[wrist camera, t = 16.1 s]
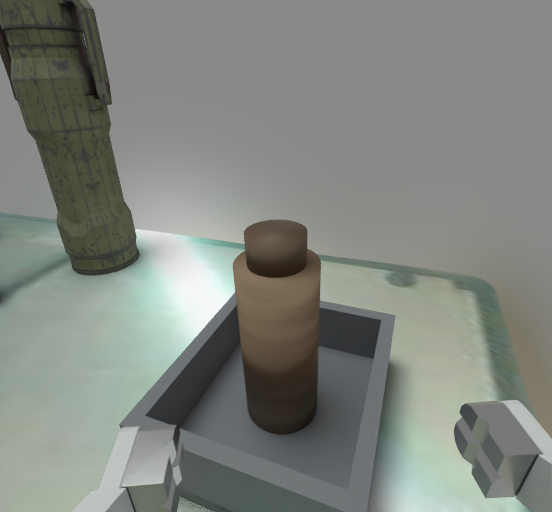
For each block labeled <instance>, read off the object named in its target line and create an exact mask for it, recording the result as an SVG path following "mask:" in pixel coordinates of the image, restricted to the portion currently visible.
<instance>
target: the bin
mask: <svg viewBox="0 0 552 512" xmlns="http://www.w3.org/2000/svg"><path fill="white" fill-rule="evenodd" d="M394 321H395V315H391V314H386V313H381V312H376V311H370V310H365V309H360V308H355V307H350V306H345V305H340V304H335V303H329V302H324V301H320V312H319V350H318V387H317V410H316V414H315V416H314V418H313V419H312V421H311V422H310V423H309V424H308V425H307V426H306V427H305V428H303V429H301V430H299V431H297V432H294V433H291V434H284V435H283V434H273V433H269V432H266V431H264V430H262V429H261V428H259V427H258V426H257V425H256V424H255V423H254V422H253V421H252V420H251V418H250V416H249V413H248V408H247V398H246V388H245V379H244V369H243V359H242V350H241V340H240V330H239V321H238V311H237V301H236V292H235V293H234V295H233V296H232V297H231V298H230V299H229V300H228V301H227V303H226V304H225V305H224V306H223V307H222V308H221V309H220V310H219V312H218V313H217V314H216V315H215V316H214V317H213V318H212V320H211V321H210V322H209V323H208V324H207V325H206V326H205V328H204V329H203V330H202V331H201V332H200V333H199V334H198V336H197V337H196V338H195V339H194V340H193V341H192V342H191V343H190V345H189V346H188V347H187V348H186V349H185V350H184V351H183V353H182V354H181V355H180V356H179V357H178V358H177V359H176V361H175V362H174V363H173V364H172V365H171V366H170V367H169V369H168V370H167V371H166V372H165V373H164V374H163V375H162V376H161V378H160V379H159V380H158V381H157V382H156V383H155V384H154V386H153V387H152V388H151V389H150V390H149V391H148V392H147V394H146V395H145V396H144V397H143V398H142V399H141V400H140V402H139V403H138V404H137V405H136V406H135V407H134V408H133V409H132V411H131V412H130V413H129V414H128V415H127V416H126V417H125V419H124V420H123V421H122V422H121V423H120V424H119V425H120V428H122V427H136V426H157V425H179V428H180V438H179V440H180V441H181V442H182V443H183V447H184V470H183V477H182V480H181V482H180V483H179V484H178V485H177V490H178V494H179V496H181V497H184V498H186V499H188V500H191V501H193V502H195V503H197V504H200V505H202V506H204V507H206V508H209V509H211V510H213V511H215V512H367V508H368V501H369V494H370V487H371V480H372V473H373V467H374V460H375V453H376V446H377V439H378V432H379V425H380V418H381V411H382V404H383V397H384V390H385V384H386V377H387V370H388V363H389V356H390V349H391V342H392V335H393V328H394Z"/></svg>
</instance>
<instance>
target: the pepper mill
mask: <svg viewBox="0 0 552 512" xmlns="http://www.w3.org/2000/svg"><path fill="white" fill-rule="evenodd" d="M244 241H245V251H244V252H243V253H241V254H240V255H239V256H237V258H236V259H235V260H234V263H233V272H234V282H235V292H236V301H237V311H238V321H239V330H240V340H241V350H242V359H243V369H244V379H245V388H246V398H247V408H248V413H249V416H250V418H251V420H252V421H253V422H254V423H255V424H256V425H257V426H258V427H259V428H261V429H262V430H264V431H266V432H269V433H273V434H283V435H284V434H291V433H294V432H297V431H299V430H301V429H303V428H305V427H306V426H307V425H308V424H309V423H310V422H311V421H312V419H313V418H314V416H315V414H316V410H317V387H318V350H319V312H320V274H321V261H320V258H319V257H318V255H316V254H315V253H314V252H313V251H311V250H309V249H307V229H306V227H305V226H303V225H302V224H300V223H297V222H294V221H289V220H268V221H263V222H258V223H255V224H253V225H251V226H249V227H248V228H246V230H245V231H244Z"/></svg>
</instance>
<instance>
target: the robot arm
mask: <svg viewBox="0 0 552 512" xmlns="http://www.w3.org/2000/svg"><path fill="white" fill-rule="evenodd" d="M460 414H461V416H462V418H461V419H460V420H459V421H458V422H456V425H455V428H454V436H455V442H456V445H457V447H458V450H459V451H460V453H461V455H462V457H463V458H464V459H465V460H467V461H468V462H469V463H471V464H472V475H473V477H474V479H475V480H476V482H477V484H478V486H479V487H480V489H481V491H482V493H483V494H484V496H485V498H497V497H515V496H517V498H516V499H518V500H519V501H520V502H521V503H522V504H523V505H524V506H525V507H527V508H528V509H529V510H530V511H531V512H552V439H551V438H550V436H549V435H548V434H547V433H546V432H545V430H544V429H543V428H542V427H541V426H540V424H539V423H538V422H537V421H536V420H535V418H534V417H533V416H532V415H531V414H530V412H529V411H528V410H527V409H526V408H525V406H524V405H523V404H522V403H521V402H519V401H517V400H507V401H489V402H478V403H466V404H464V405H463V406H462V407H461V409H460ZM179 438H180V428H179V425H157V426H136V427H122V428H121V429H120V431H119V432H118V434H117V437H116V439H115V442H114V445H113V448H112V450H111V453H110V456H109V459H108V461H107V464H106V467H105V470H104V473H103V475H102V478H101V481H100V484H99V486H98V489H97V490H91V491H90V492H89V493H88V494H87V495H86V496H85V498H84V499H83V500H82V501H81V502H80V503H79V504H78V505H77V506H76V507H75V508H74V509H73V510H72V511H71V512H177V508H178V502H179V494H178V490H177V485H178V484H179V483H180V482H181V480H182V477H183V470H184V447H183V443H182V442H181V441H180V440H179Z"/></svg>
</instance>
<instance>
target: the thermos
mask: <svg viewBox="0 0 552 512" xmlns="http://www.w3.org/2000/svg"><path fill="white" fill-rule="evenodd" d="M83 33H84V36H83ZM84 37H85V40H84ZM85 41H86V45H85ZM86 46H87V48H86ZM0 54H1V57H2V60H3V63H4V66H5V68H6V71H7V74H8V77H9V80H10V83H11V87H12V90H13V94H14V97H15V100H17V101H18V104H19V107H20V110H21V113H22V116H23V119H24V122H25V125H26V128H27V131H28V132H29V133H30V134H31V136H32V137H33V138H34V139H35V140H36V144H37V147H38V150H39V153H40V156H41V159H42V163H43V165H44V169H45V172H46V175H47V178H48V181H49V184H50V188H51V191H52V194H53V197H54V200H55V203H56V206H57V210H58V214H57V226H58V229H59V232H60V235H61V238H62V241H63V244H64V247H65V250H66V253H68V255H69V256H70V259H71V263H72V268H73V270H74V271H76V272H77V273H80V274H84V275H99V274H106V273H111V272H115V271H118V270H120V269H123V268H125V267H127V266H129V265H131V264H132V263H134V262H135V261H136V260H137V259H138V256H139V252H138V249H137V246H136V233H135V228H134V224H133V220H132V215H131V211H130V209H129V208H128V206H127V205H126V203H125V202H124V199H123V194H122V190H121V185H120V181H119V176H118V172H117V167H116V163H115V159H114V154H113V150H112V145H111V141H110V137H109V131H110V126H111V123H110V118H109V113H108V109H107V105H109V104H112V101H111V94H110V85H109V79H108V74H107V70H106V65H105V60H104V55H103V51H102V46H101V42H100V36H99V32H98V27H97V22H96V17H95V13H94V9H93V8H92V7H91V5H90V4H89V3H88V1H87V0H0Z"/></svg>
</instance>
